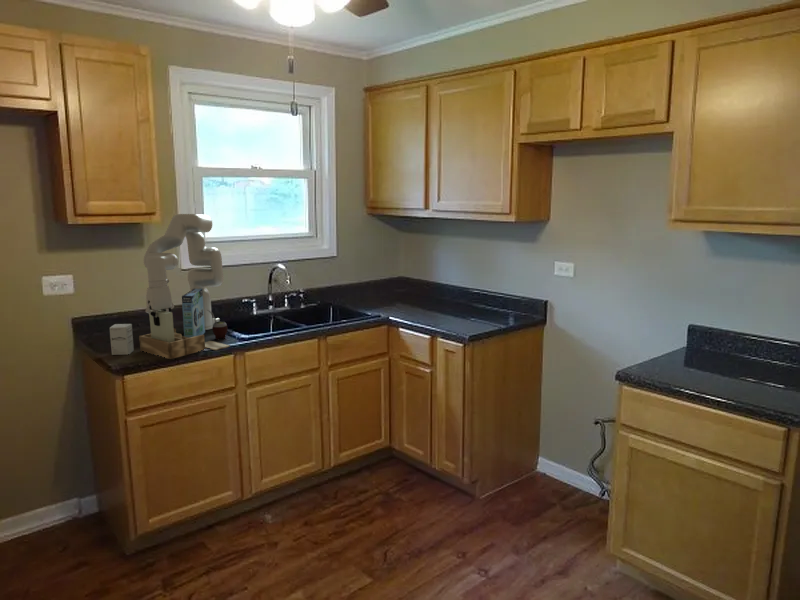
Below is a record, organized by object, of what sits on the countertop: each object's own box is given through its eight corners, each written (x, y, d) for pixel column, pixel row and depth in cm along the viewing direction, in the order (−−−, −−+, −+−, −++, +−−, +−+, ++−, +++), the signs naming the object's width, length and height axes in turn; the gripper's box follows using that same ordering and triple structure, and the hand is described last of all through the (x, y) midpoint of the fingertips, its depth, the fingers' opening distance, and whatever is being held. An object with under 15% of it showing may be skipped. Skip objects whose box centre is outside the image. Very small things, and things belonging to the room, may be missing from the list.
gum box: (195, 333, 299) (192, 288, 295) (206, 332, 299) (203, 288, 295) (184, 343, 280) (180, 295, 276) (195, 342, 280) (191, 295, 276)
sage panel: (159, 343, 268) (156, 309, 265) (175, 347, 262) (172, 312, 258) (152, 345, 266) (148, 310, 262) (168, 349, 259) (164, 314, 256)
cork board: (210, 342, 282) (210, 340, 281) (229, 346, 274) (229, 345, 274) (196, 345, 275) (196, 344, 275) (215, 350, 267) (215, 349, 267)
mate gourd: (231, 337, 289) (229, 308, 286) (219, 341, 283) (217, 311, 280) (220, 336, 293) (218, 306, 290) (207, 339, 286) (205, 309, 283)
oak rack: (175, 342, 281) (174, 328, 280) (205, 349, 268) (204, 334, 267) (140, 351, 266) (139, 336, 265) (170, 359, 254) (168, 343, 253)
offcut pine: (173, 338, 275) (173, 332, 275) (182, 340, 272) (181, 334, 272) (165, 340, 272) (165, 334, 271) (174, 342, 269) (173, 336, 268)
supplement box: (111, 355, 260) (108, 327, 257) (117, 350, 267) (114, 323, 265) (128, 354, 260) (126, 327, 258) (134, 350, 268) (132, 323, 265)
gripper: (169, 280, 266) (172, 319, 270) (135, 285, 253) (139, 327, 257) (179, 281, 262) (183, 321, 266) (145, 287, 249) (149, 329, 253)
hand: (161, 324), depth 262 cm, fingers closed on sage panel, 3 cm apart
